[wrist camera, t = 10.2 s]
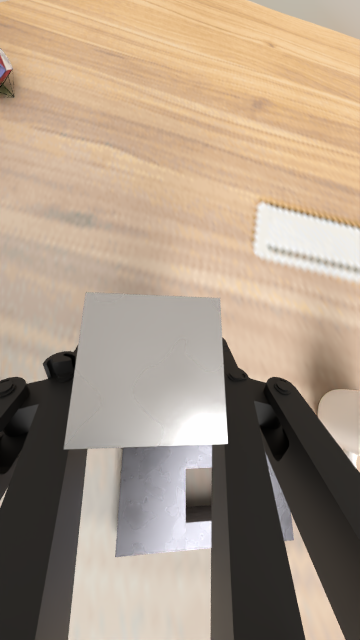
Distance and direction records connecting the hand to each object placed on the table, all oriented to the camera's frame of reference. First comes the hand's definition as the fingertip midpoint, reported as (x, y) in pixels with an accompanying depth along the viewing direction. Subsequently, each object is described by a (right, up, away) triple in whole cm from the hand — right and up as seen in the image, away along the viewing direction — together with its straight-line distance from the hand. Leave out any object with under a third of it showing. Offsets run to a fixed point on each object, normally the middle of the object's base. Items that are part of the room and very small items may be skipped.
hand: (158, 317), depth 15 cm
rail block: (+5, -21, +10) cm, 24 cm away
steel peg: (-1, -5, +4) cm, 6 cm away
